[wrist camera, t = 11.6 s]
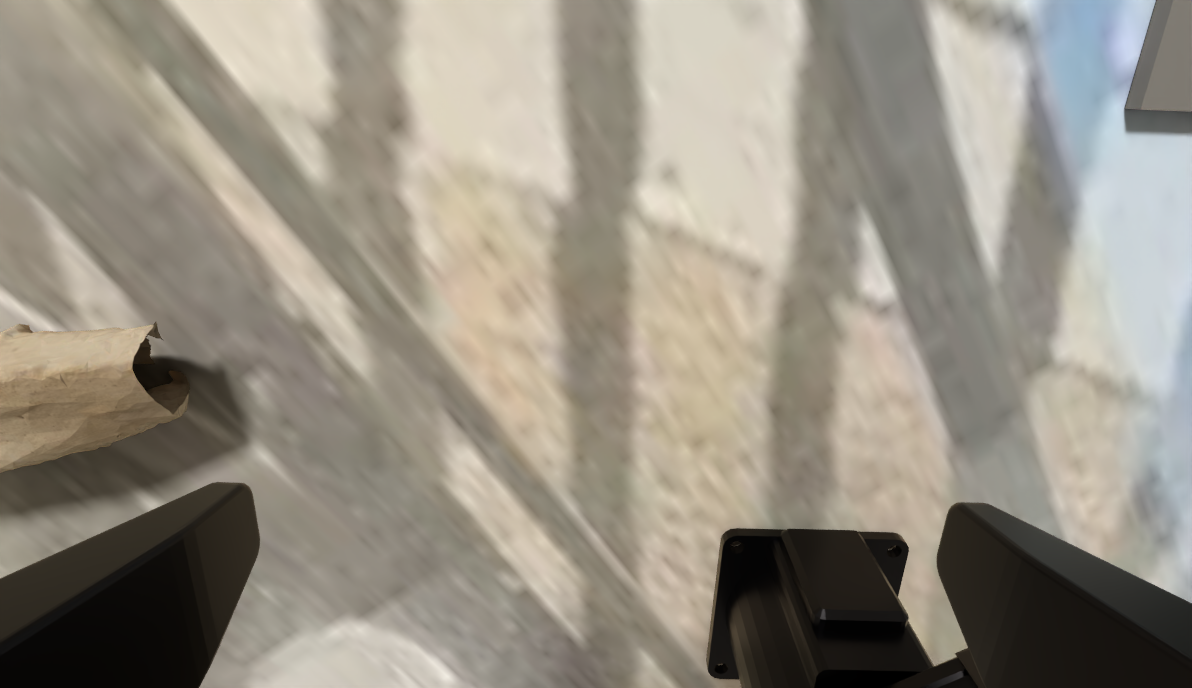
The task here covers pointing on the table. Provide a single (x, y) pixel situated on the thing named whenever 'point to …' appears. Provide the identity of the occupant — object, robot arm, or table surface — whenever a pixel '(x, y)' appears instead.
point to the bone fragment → (77, 392)
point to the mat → (1165, 60)
